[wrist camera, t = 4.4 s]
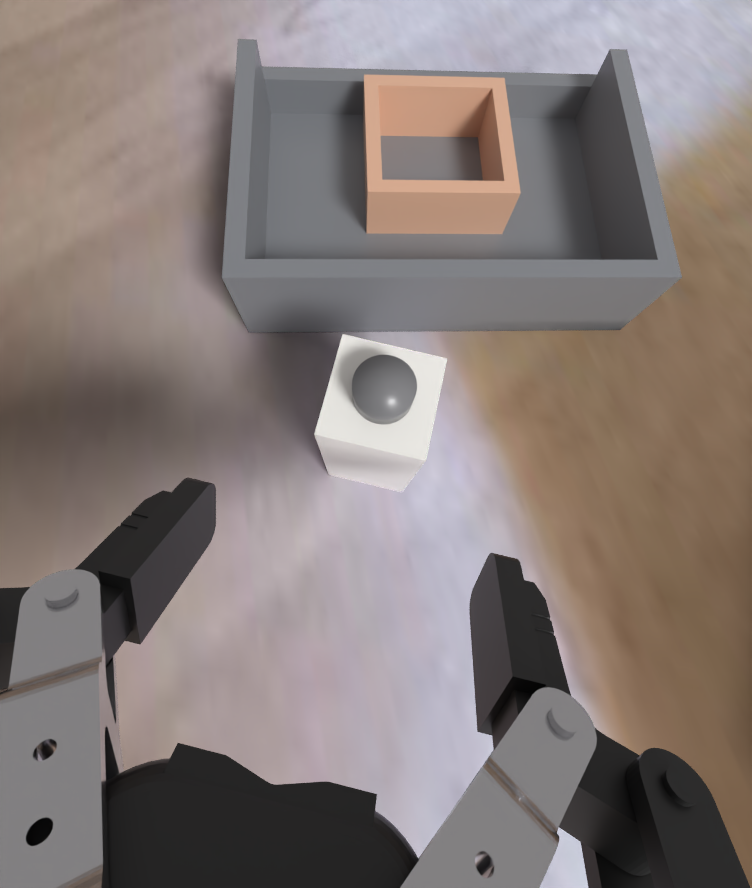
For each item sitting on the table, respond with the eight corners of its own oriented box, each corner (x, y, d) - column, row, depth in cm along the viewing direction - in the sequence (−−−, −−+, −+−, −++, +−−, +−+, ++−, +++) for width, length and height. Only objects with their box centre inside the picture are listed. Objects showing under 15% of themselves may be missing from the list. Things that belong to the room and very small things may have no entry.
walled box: (248, 332, 24) (221, 277, 19) (259, 116, 28) (238, 25, 23) (620, 329, 25) (681, 277, 20) (579, 122, 29) (623, 37, 24)
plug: (402, 492, 22) (430, 454, 14) (328, 474, 22) (311, 426, 14) (417, 422, 23) (453, 345, 15) (347, 406, 23) (341, 319, 15)
